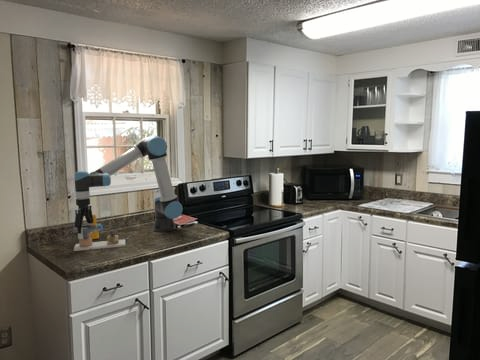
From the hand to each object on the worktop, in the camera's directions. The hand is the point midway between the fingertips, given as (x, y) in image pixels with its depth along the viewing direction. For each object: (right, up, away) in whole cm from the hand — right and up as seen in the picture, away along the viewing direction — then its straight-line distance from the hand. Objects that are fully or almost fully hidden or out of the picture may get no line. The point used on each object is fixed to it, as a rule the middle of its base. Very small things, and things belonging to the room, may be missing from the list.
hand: (85, 236), depth 221 cm
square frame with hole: (0, +3, 0) cm, 3 cm away
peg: (0, -5, +1) cm, 5 cm away
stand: (+15, -5, +5) cm, 16 cm away
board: (+8, -6, +3) cm, 10 cm away
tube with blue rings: (-3, -4, +21) cm, 21 cm away
